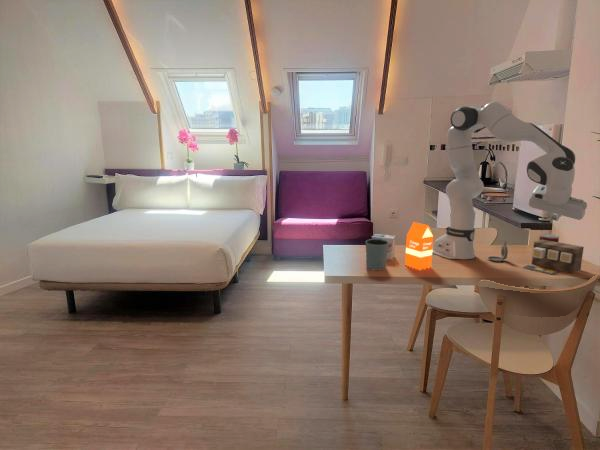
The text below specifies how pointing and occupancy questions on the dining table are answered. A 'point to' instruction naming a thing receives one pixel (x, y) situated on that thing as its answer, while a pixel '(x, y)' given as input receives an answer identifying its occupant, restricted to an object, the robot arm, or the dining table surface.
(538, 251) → the button left
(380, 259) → the grey green cup
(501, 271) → the dining table surface
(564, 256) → the button right
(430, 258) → the orange juice
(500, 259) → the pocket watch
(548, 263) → the console
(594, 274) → the dining table surface
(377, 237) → the light bulb box
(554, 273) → the pattern tile
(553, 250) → the button middle
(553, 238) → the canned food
